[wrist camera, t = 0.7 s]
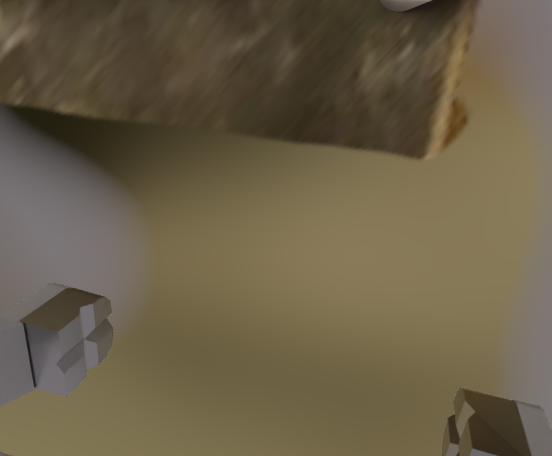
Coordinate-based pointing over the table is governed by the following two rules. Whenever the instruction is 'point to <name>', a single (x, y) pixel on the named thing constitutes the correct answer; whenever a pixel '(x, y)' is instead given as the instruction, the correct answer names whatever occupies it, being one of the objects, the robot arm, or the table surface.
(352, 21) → the table surface
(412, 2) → the roll
